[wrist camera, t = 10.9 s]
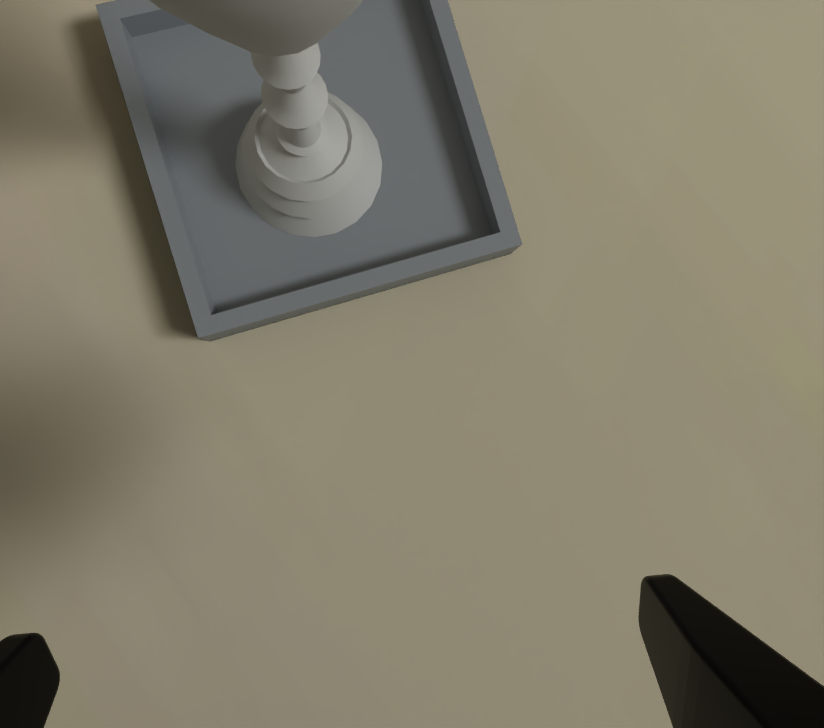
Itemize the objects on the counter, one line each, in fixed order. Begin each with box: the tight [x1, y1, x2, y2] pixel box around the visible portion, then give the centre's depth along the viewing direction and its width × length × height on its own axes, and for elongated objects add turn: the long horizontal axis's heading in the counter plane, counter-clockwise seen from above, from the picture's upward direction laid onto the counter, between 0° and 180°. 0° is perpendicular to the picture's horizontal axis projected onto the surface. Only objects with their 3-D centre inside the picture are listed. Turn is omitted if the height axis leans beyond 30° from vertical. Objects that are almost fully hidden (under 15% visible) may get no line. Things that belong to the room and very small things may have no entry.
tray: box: [96, 0, 522, 341], centre depth 20 cm, size 11×11×2 cm
